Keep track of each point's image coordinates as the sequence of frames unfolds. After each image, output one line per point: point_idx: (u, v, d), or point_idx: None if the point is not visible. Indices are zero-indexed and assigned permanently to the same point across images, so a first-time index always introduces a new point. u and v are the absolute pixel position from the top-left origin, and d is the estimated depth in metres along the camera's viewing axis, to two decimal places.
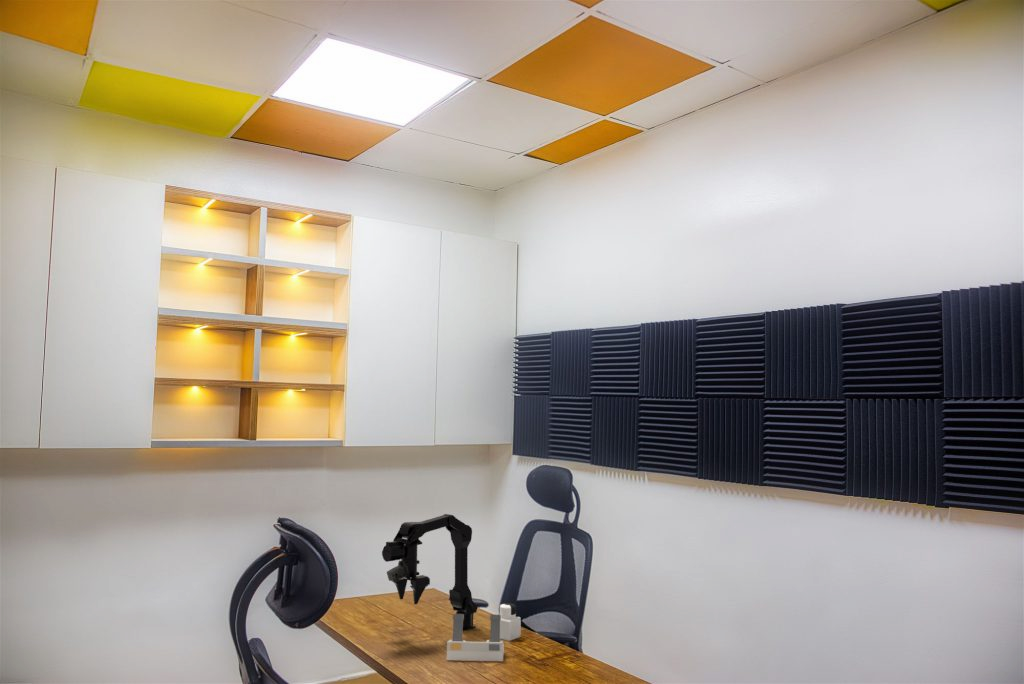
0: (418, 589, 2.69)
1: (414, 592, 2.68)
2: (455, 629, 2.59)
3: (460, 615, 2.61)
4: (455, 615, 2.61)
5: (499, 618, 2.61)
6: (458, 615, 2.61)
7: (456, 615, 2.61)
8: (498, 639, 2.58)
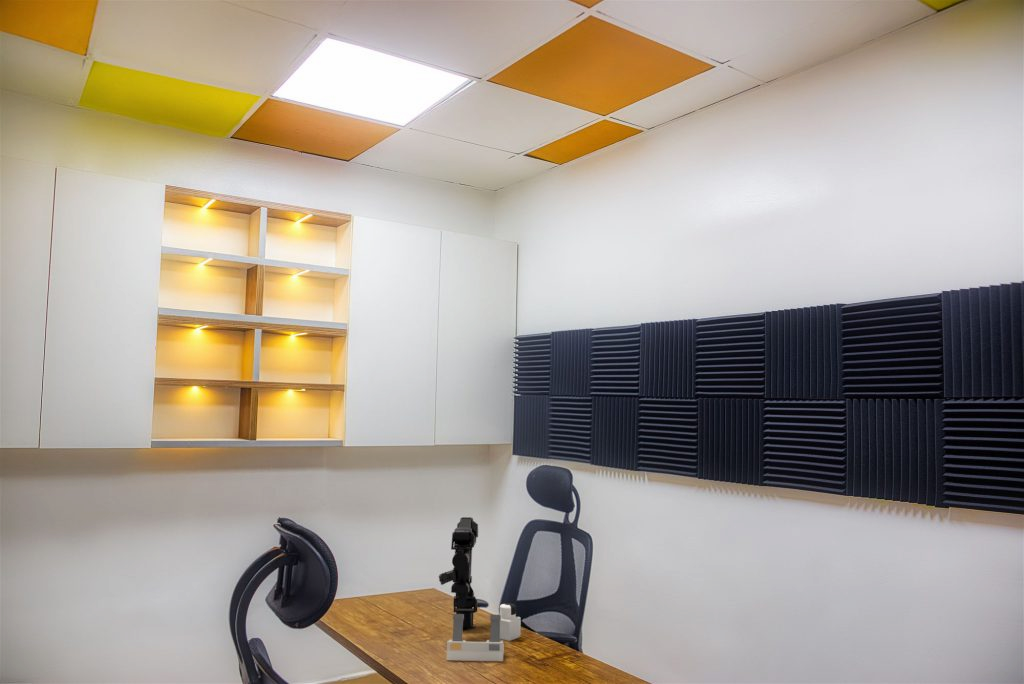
0: (461, 593, 2.73)
1: None
2: (455, 629, 2.59)
3: (460, 615, 2.61)
4: (455, 615, 2.61)
5: (499, 618, 2.61)
6: (458, 615, 2.61)
7: (456, 615, 2.61)
8: (498, 639, 2.58)
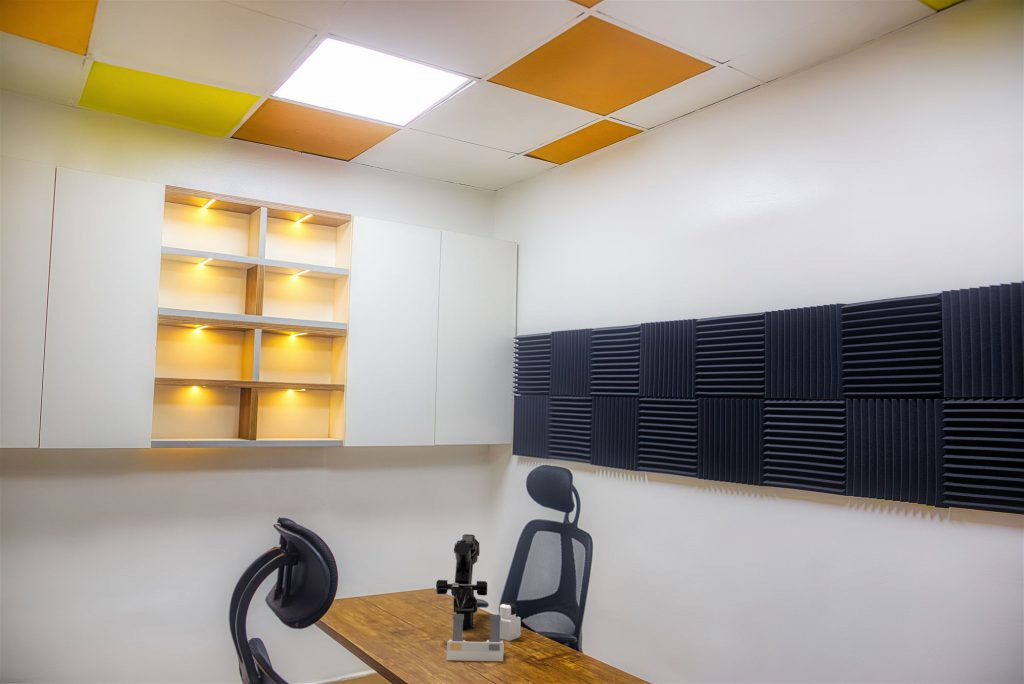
0: None
1: None
2: (455, 629, 2.59)
3: (460, 615, 2.61)
4: (455, 615, 2.61)
5: (499, 618, 2.61)
6: (458, 615, 2.61)
7: (456, 615, 2.61)
8: (498, 639, 2.58)
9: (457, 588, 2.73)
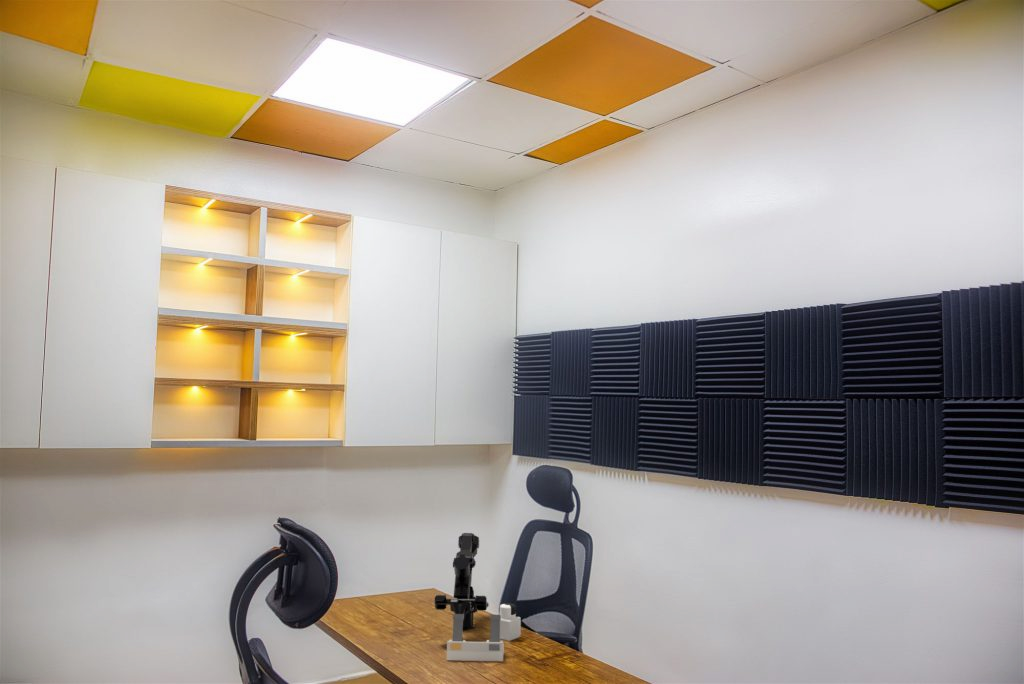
0: None
1: None
2: (455, 629, 2.59)
3: (460, 615, 2.61)
4: (455, 615, 2.61)
5: (499, 618, 2.61)
6: (458, 615, 2.61)
7: (456, 615, 2.61)
8: (498, 639, 2.58)
9: (456, 603, 2.69)
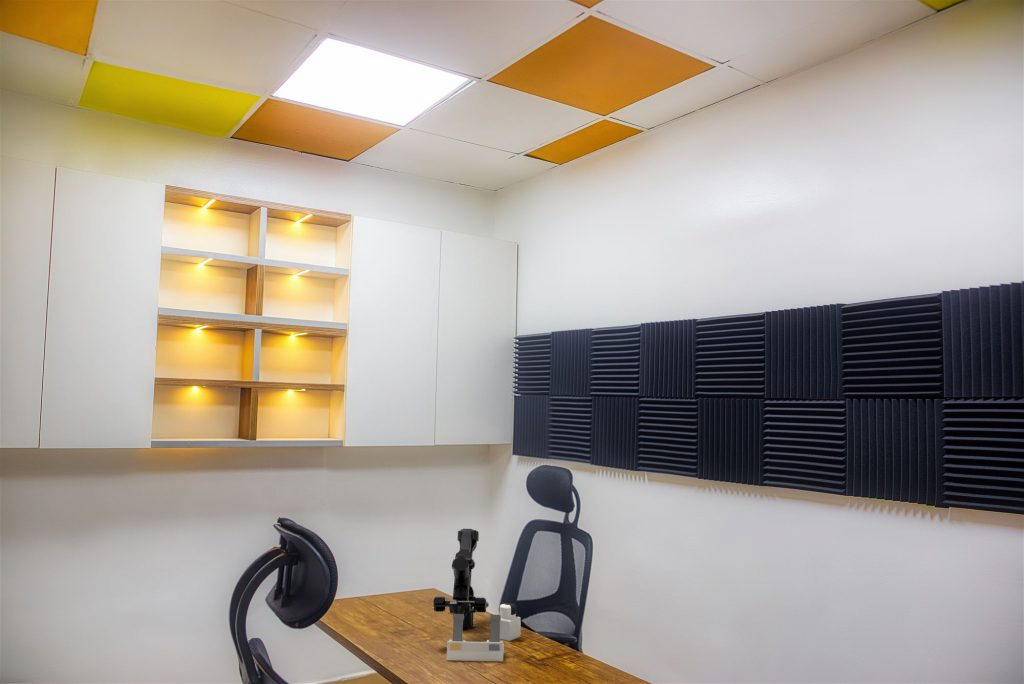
0: None
1: None
2: (455, 629, 2.59)
3: (460, 615, 2.61)
4: (455, 615, 2.61)
5: (499, 618, 2.61)
6: (458, 615, 2.61)
7: (456, 615, 2.61)
8: (498, 639, 2.58)
9: (455, 605, 2.65)
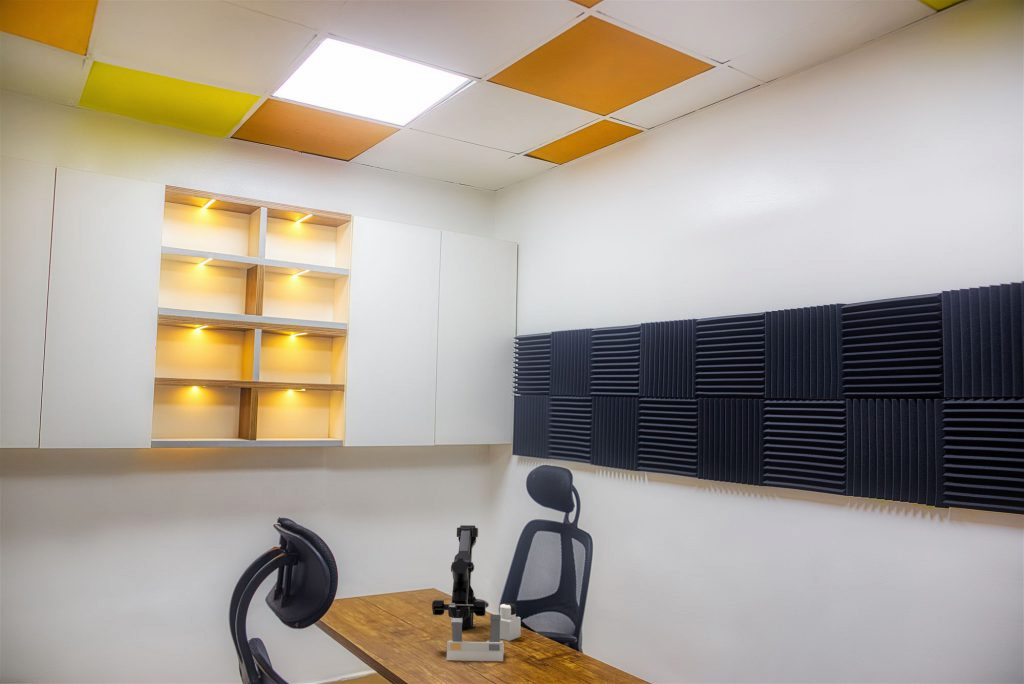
0: None
1: None
2: (454, 634, 2.56)
3: (458, 623, 2.55)
4: (453, 623, 2.55)
5: (499, 618, 2.61)
6: (456, 623, 2.55)
7: (454, 623, 2.55)
8: (498, 639, 2.58)
9: (454, 608, 2.61)
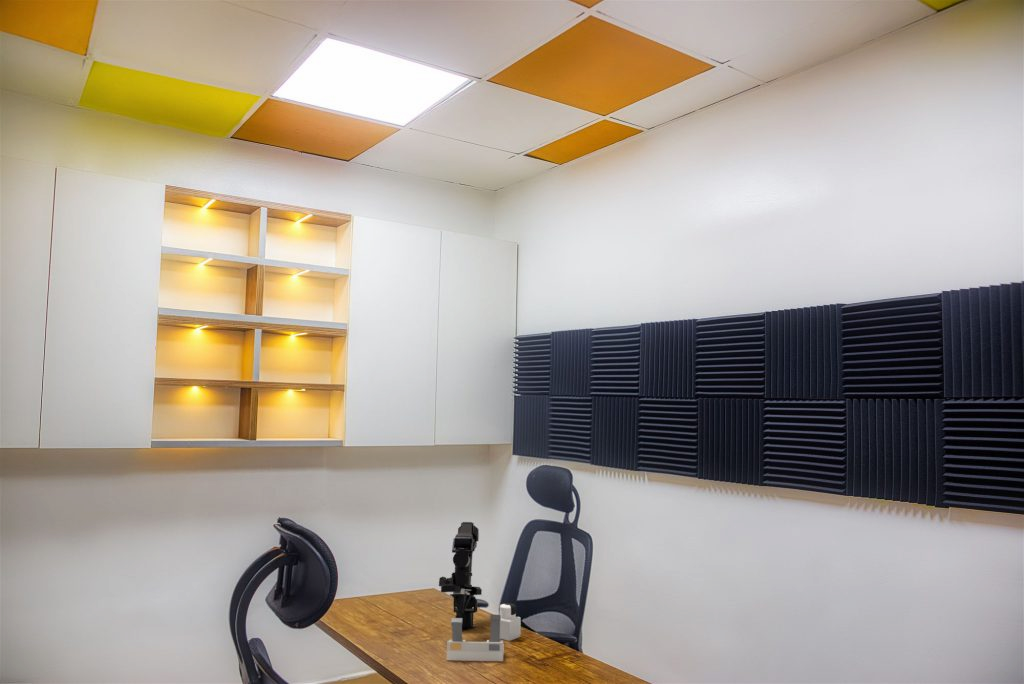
0: (459, 599, 2.73)
1: None
2: (454, 634, 2.56)
3: (458, 623, 2.55)
4: (453, 623, 2.55)
5: (499, 618, 2.61)
6: (456, 623, 2.55)
7: (454, 623, 2.55)
8: (498, 639, 2.58)
9: (465, 596, 2.72)
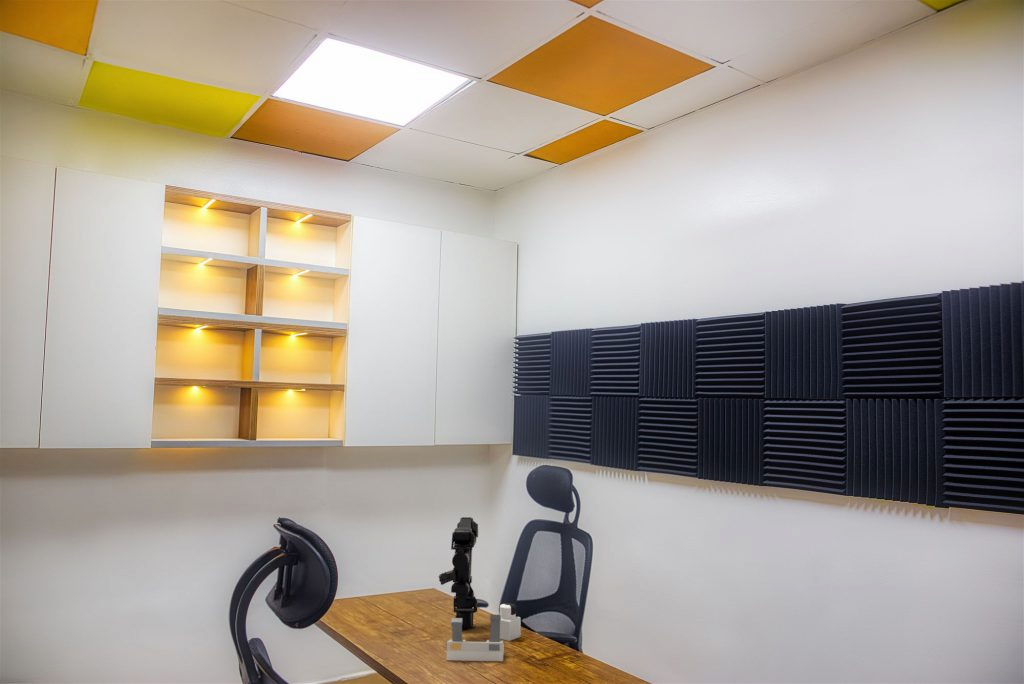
0: (462, 593, 2.74)
1: (457, 595, 2.74)
2: (454, 634, 2.56)
3: (458, 623, 2.55)
4: (453, 623, 2.55)
5: (499, 618, 2.61)
6: (456, 623, 2.55)
7: (454, 623, 2.55)
8: (498, 639, 2.58)
9: (469, 590, 2.74)
